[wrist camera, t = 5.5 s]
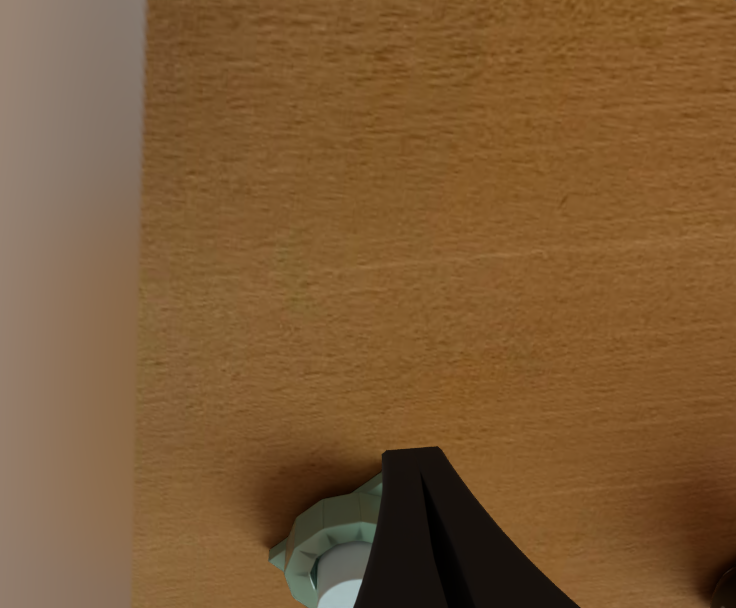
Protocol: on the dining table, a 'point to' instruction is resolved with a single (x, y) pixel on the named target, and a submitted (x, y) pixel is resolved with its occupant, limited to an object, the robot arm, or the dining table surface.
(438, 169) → the dining table surface
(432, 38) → the dining table surface
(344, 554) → the light gray smooth cylinder
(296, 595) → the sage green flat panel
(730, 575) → the beverage can
